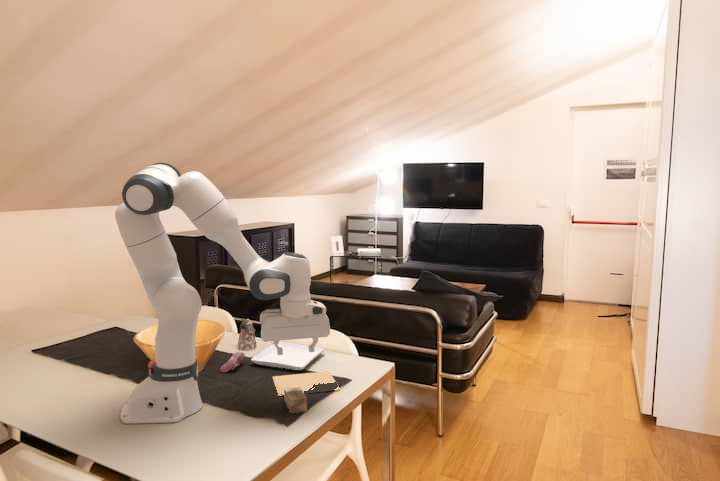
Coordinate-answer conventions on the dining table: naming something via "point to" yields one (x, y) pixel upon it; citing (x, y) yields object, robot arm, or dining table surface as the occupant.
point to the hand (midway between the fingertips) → (295, 352)
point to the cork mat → (302, 381)
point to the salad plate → (287, 356)
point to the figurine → (247, 336)
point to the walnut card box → (295, 399)
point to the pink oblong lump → (233, 362)
